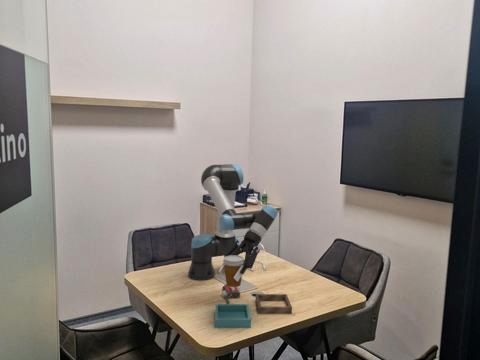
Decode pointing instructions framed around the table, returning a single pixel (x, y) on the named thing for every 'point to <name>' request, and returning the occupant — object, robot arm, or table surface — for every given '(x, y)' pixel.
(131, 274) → the table surface
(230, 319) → the teal tray
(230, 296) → the walkie-talkie
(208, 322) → the table surface
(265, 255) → the earphone
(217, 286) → the table surface
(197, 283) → the table surface
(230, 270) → the disposable coffee cup
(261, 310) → the walnut cup stand
